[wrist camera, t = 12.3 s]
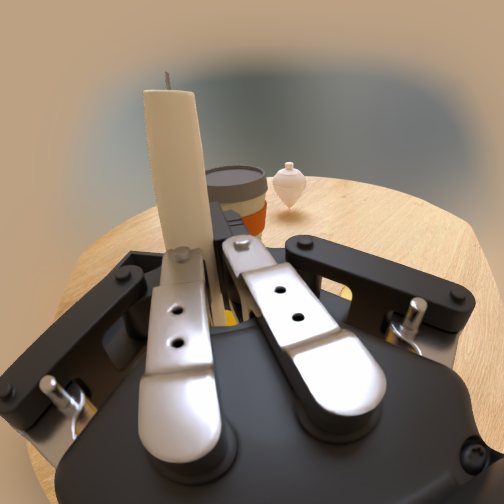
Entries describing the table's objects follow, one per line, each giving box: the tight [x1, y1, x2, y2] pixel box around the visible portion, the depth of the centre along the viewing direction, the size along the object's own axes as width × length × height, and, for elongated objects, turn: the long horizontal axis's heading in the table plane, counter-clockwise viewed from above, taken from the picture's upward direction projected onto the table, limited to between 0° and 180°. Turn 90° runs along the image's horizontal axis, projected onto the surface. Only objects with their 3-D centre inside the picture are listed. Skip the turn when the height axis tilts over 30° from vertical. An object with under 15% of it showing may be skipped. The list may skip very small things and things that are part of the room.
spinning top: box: [273, 162, 306, 211], centre depth 67 cm, size 8×8×12 cm
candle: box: [143, 72, 237, 326], centre depth 11 cm, size 5×5×16 cm
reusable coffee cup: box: [205, 165, 268, 240], centre depth 52 cm, size 12×13×15 cm
